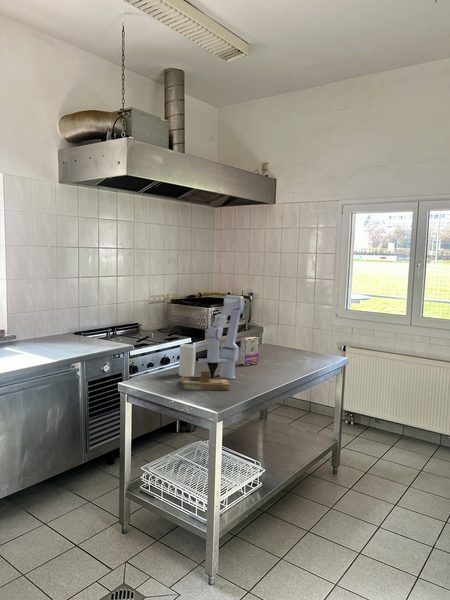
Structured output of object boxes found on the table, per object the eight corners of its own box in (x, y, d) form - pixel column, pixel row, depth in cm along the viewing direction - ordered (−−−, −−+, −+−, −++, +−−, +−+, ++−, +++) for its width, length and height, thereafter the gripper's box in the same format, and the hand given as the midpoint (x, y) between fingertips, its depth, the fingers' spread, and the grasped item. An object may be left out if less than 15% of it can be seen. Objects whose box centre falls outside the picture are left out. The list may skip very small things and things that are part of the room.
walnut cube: (201, 378, 224) (201, 371, 224) (209, 379, 224) (209, 371, 224) (200, 381, 220) (201, 373, 220) (208, 381, 220) (209, 373, 220)
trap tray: (181, 381, 224) (181, 376, 224) (226, 382, 227) (226, 377, 227) (181, 389, 211) (182, 383, 211) (229, 390, 214) (229, 384, 214)
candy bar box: (252, 362, 277) (253, 336, 275) (258, 364, 273) (259, 337, 271) (239, 364, 269) (240, 337, 268) (244, 366, 266) (246, 339, 264)
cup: (196, 374, 240) (198, 345, 239) (188, 377, 233) (189, 347, 232) (184, 371, 244) (186, 343, 243) (175, 374, 237) (177, 345, 236)
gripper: (199, 352, 216) (197, 379, 217) (228, 352, 218) (227, 379, 219) (198, 349, 223) (197, 375, 224) (226, 350, 225) (225, 376, 226)
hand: (211, 377), depth 222 cm, fingers closed
